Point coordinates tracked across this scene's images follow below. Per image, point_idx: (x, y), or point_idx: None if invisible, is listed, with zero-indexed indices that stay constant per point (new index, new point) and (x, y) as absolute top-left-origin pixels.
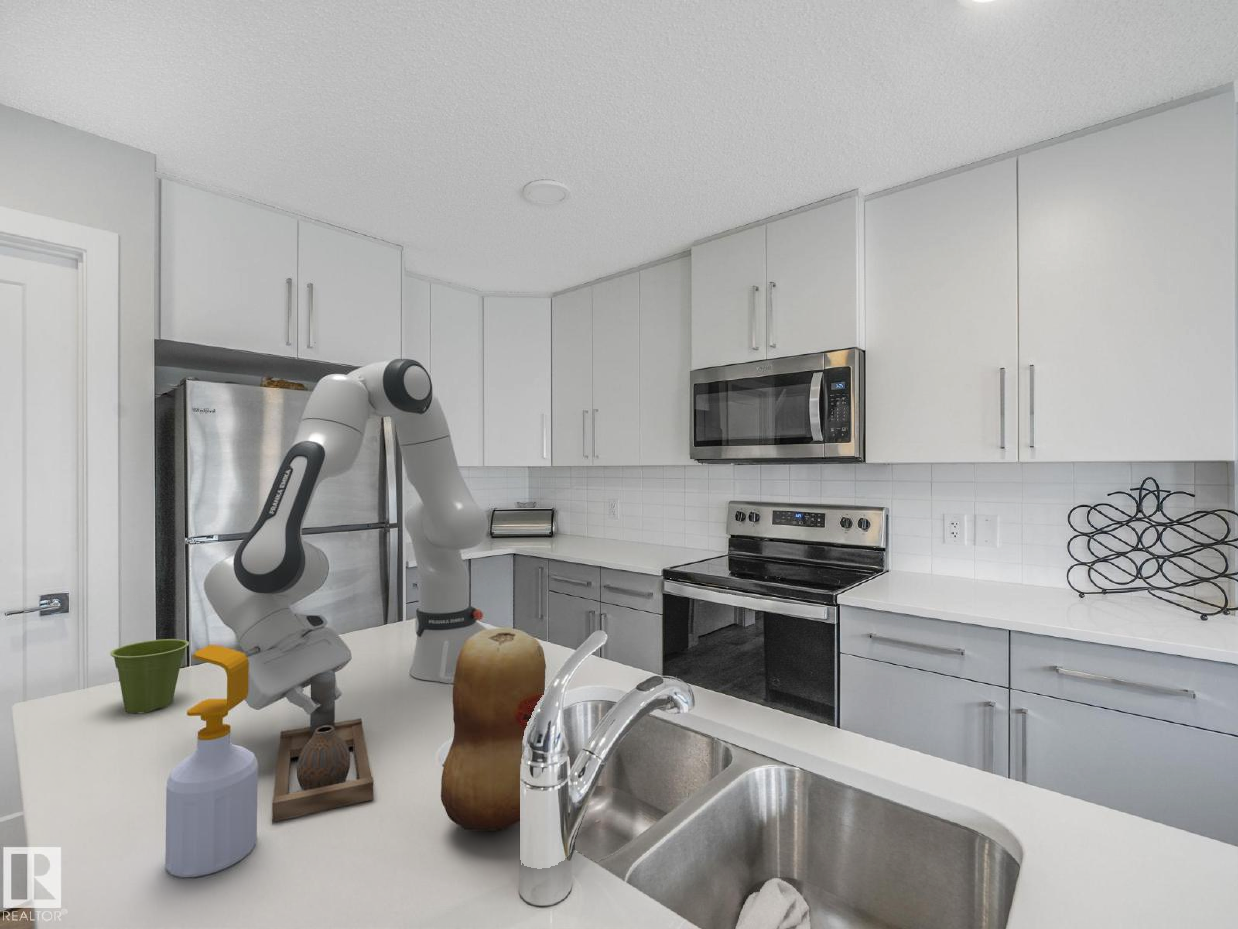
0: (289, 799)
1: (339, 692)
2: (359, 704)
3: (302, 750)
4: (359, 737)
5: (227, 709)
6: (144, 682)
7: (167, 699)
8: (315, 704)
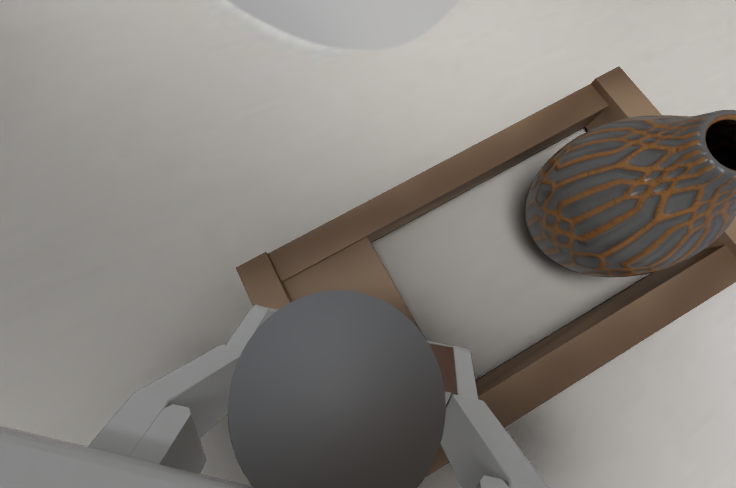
0: None
1: (263, 312)
2: (18, 388)
3: (714, 239)
4: (366, 216)
5: None
6: None
7: None
8: (451, 356)
